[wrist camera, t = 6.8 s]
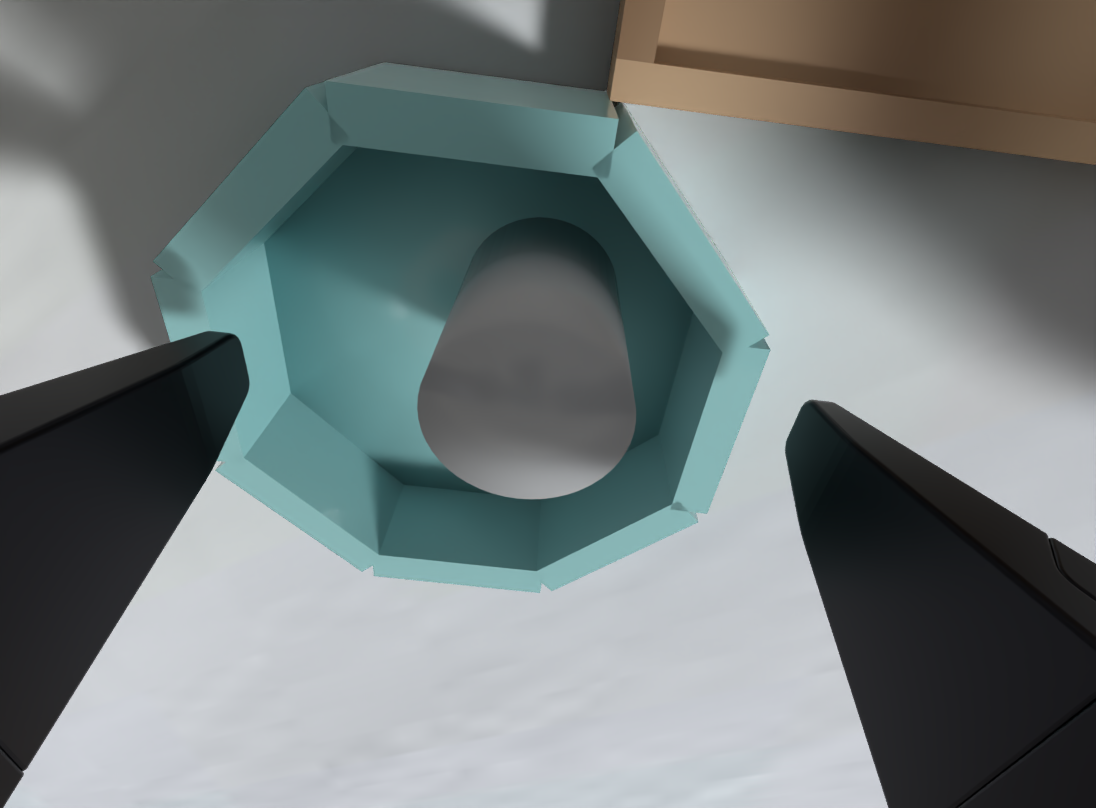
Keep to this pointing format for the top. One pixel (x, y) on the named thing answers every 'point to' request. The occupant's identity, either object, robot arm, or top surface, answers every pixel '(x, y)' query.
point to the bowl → (425, 303)
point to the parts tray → (873, 67)
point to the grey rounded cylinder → (531, 366)
